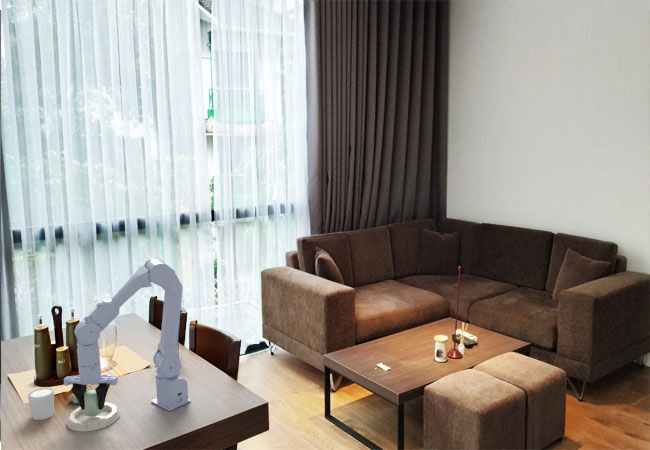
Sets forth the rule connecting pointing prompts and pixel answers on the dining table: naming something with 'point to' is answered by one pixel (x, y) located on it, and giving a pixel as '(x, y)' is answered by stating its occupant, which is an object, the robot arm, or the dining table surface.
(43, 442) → the dining table surface
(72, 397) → the bead pile
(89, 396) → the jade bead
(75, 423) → the round bowl
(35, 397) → the white cylinder
